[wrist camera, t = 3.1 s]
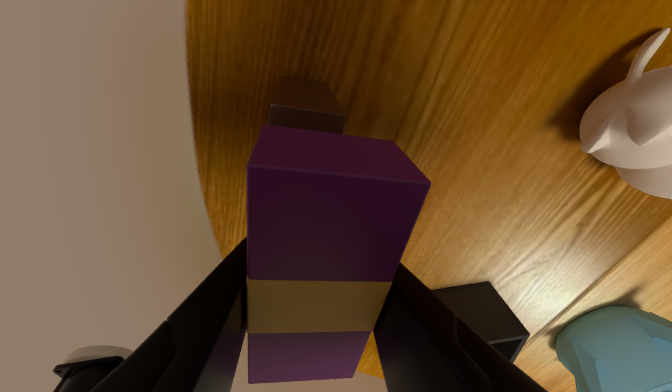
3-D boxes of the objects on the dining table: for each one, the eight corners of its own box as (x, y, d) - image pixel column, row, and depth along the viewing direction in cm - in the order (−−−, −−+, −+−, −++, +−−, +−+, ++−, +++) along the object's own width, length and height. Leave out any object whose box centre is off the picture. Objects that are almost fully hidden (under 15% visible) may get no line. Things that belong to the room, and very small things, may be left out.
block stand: (315, 166, 20) (324, 232, 13) (276, 161, 19) (264, 228, 13) (327, 84, 17) (347, 115, 10) (281, 75, 16) (269, 103, 10)
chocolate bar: (343, 314, 11) (353, 379, 9) (257, 315, 11) (246, 386, 8) (394, 140, 7) (435, 183, 5) (262, 122, 7) (244, 164, 4)
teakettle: (532, 331, 39) (604, 421, 30) (639, 281, 35) (758, 368, 26) (554, 362, 46) (617, 442, 37) (645, 324, 42) (740, 403, 33)
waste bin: (378, 355, 37) (393, 411, 31) (381, 297, 30) (400, 356, 24) (466, 340, 38) (495, 392, 32) (489, 281, 31) (530, 334, 25)
